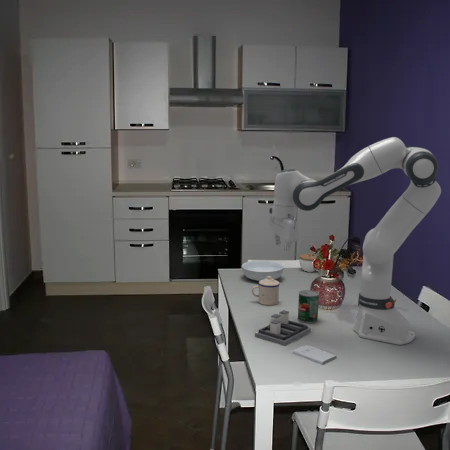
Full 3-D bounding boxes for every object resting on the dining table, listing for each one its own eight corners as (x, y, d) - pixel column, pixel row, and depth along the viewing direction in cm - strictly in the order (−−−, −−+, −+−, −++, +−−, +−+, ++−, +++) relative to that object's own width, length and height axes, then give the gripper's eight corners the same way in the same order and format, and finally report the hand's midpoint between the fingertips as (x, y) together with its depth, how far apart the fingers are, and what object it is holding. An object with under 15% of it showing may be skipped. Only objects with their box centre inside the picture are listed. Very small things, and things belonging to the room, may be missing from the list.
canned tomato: (320, 318, 229) (322, 292, 227) (312, 324, 222) (313, 297, 220) (302, 314, 233) (304, 288, 231) (294, 320, 227) (295, 293, 225)
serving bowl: (237, 274, 292) (237, 261, 290) (276, 272, 296) (277, 260, 294) (246, 285, 272) (246, 271, 270) (288, 284, 275) (289, 270, 274)
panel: (310, 331, 214) (311, 325, 214) (284, 346, 201) (284, 339, 200) (281, 323, 222) (282, 317, 222) (254, 336, 209) (255, 330, 208)
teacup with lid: (277, 299, 252) (278, 273, 250) (279, 306, 243) (280, 279, 241) (250, 298, 252) (251, 273, 250) (251, 305, 243) (252, 279, 241)
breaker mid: (280, 327, 214) (281, 315, 213) (275, 329, 212) (276, 317, 211) (275, 325, 215) (275, 313, 214) (270, 327, 213) (271, 315, 212)
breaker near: (288, 323, 218) (288, 311, 217) (284, 325, 216) (284, 313, 215) (283, 321, 220) (283, 310, 219) (278, 324, 217) (279, 312, 216)
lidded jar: (301, 273, 295) (302, 255, 294) (296, 268, 306) (297, 251, 304) (321, 273, 296) (322, 255, 294) (316, 268, 307) (317, 251, 305)
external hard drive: (322, 366, 186) (292, 354, 195) (336, 359, 192) (307, 348, 201) (322, 361, 186) (292, 350, 195) (336, 355, 192) (307, 344, 200)
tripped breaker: (280, 333, 207) (280, 321, 207) (275, 336, 205) (276, 323, 204) (274, 332, 209) (275, 319, 208) (270, 334, 207) (270, 321, 206)
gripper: (303, 217, 205) (300, 254, 207) (282, 207, 224) (280, 241, 227) (287, 217, 203) (284, 255, 206) (267, 207, 222) (265, 242, 225)
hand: (282, 248), depth 216 cm, fingers open, 8 cm apart
